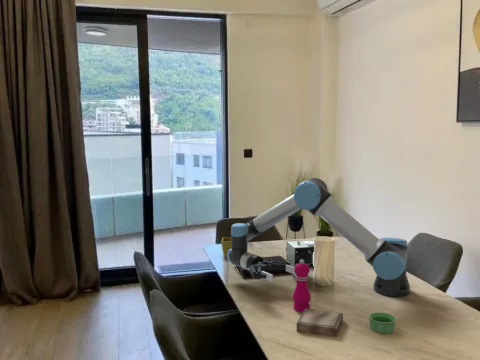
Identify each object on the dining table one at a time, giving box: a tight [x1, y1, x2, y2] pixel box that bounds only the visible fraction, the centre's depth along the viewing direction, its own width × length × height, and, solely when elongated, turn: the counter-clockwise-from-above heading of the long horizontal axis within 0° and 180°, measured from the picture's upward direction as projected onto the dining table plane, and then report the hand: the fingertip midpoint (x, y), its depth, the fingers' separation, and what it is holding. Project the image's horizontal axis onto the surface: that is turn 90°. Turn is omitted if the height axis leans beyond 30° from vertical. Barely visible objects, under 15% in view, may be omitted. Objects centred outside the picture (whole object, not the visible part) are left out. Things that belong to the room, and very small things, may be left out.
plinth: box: [296, 308, 344, 338], centre depth 168 cm, size 14×14×3 cm
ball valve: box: [285, 239, 312, 278], centre depth 220 cm, size 18×8×18 cm, turn 11°
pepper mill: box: [291, 259, 312, 313], centre depth 183 cm, size 7×7×20 cm
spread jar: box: [303, 240, 315, 268], centre depth 240 cm, size 12×11×12 cm
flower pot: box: [221, 237, 231, 257], centre depth 258 cm, size 9×9×9 cm
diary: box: [233, 255, 293, 279], centre depth 232 cm, size 19×25×5 cm
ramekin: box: [368, 311, 397, 335], centre depth 165 cm, size 9×9×4 cm
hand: (285, 275), depth 190 cm, fingers open, 13 cm apart
